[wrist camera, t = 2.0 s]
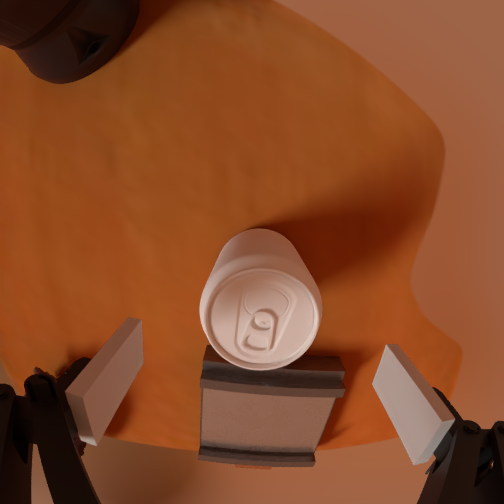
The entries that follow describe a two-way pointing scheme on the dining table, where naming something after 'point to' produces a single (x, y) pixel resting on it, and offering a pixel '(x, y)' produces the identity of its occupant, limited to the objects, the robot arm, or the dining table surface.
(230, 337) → the beverage can
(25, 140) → the dining table surface
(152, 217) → the dining table surface
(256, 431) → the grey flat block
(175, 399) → the dining table surface
